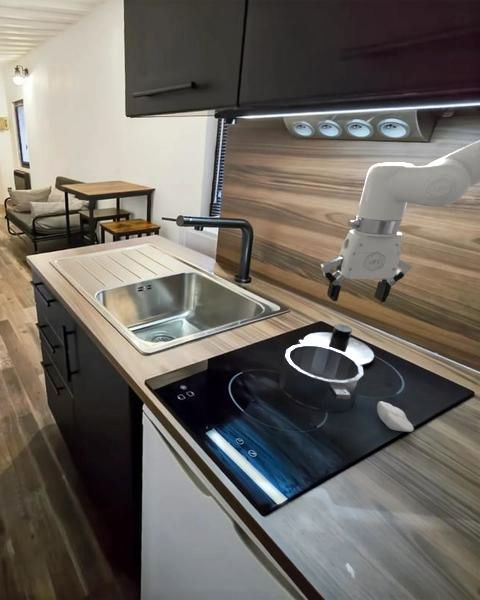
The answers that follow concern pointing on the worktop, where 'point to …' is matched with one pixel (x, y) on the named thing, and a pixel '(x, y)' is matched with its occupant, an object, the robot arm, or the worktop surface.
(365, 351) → the lid
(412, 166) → the robot arm
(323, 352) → the pot
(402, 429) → the dumpling
